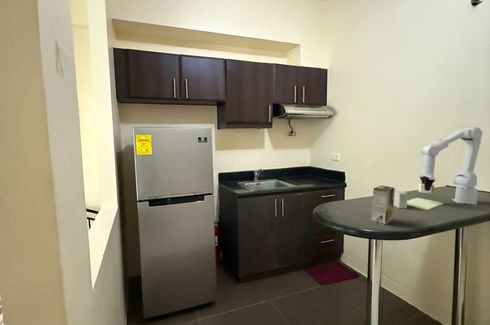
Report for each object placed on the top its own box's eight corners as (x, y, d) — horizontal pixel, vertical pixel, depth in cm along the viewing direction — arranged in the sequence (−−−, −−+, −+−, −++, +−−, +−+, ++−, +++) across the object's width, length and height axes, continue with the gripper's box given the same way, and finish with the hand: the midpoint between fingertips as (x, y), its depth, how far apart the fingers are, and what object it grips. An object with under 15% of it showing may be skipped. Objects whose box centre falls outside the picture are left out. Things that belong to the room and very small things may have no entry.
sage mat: (416, 198, 159) (416, 197, 159) (443, 204, 148) (443, 203, 148) (400, 203, 149) (400, 202, 149) (428, 210, 137) (428, 209, 137)
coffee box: (378, 216, 127) (380, 185, 125) (392, 220, 122) (395, 187, 120) (370, 221, 121) (373, 187, 119) (385, 225, 116) (387, 190, 114)
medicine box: (407, 208, 139) (408, 193, 138) (398, 208, 140) (400, 193, 138) (398, 204, 147) (399, 189, 146) (390, 204, 147) (391, 189, 146)
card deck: (418, 191, 151) (419, 183, 151) (431, 191, 149) (432, 184, 148) (420, 192, 148) (420, 184, 148) (433, 193, 146) (434, 185, 145)
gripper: (416, 164, 155) (414, 186, 156) (424, 168, 141) (422, 192, 143) (430, 165, 152) (427, 187, 154) (439, 168, 139) (437, 193, 141)
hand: (426, 189), depth 148 cm, fingers closed on card deck, 3 cm apart
